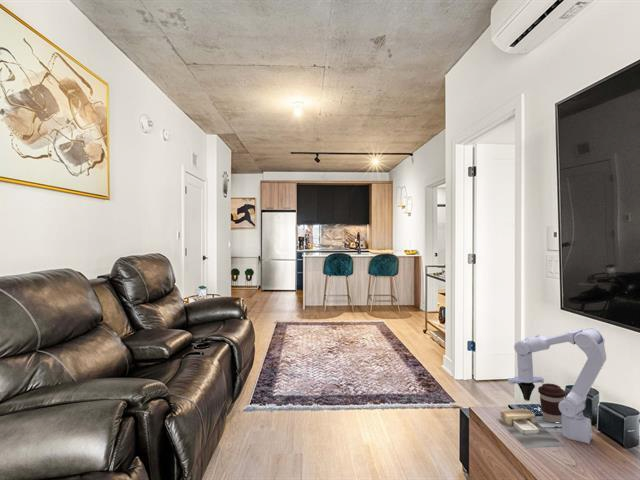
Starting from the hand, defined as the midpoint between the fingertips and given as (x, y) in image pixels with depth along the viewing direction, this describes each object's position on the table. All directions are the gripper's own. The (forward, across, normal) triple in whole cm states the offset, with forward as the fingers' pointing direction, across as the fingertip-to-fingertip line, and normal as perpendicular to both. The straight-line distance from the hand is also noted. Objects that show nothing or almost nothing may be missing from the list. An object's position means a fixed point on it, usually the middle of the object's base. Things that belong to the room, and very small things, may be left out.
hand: (526, 399), depth 159 cm
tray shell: (+9, +6, +6) cm, 12 cm away
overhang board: (+9, +5, +9) cm, 14 cm away
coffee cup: (+10, -11, +1) cm, 14 cm away
